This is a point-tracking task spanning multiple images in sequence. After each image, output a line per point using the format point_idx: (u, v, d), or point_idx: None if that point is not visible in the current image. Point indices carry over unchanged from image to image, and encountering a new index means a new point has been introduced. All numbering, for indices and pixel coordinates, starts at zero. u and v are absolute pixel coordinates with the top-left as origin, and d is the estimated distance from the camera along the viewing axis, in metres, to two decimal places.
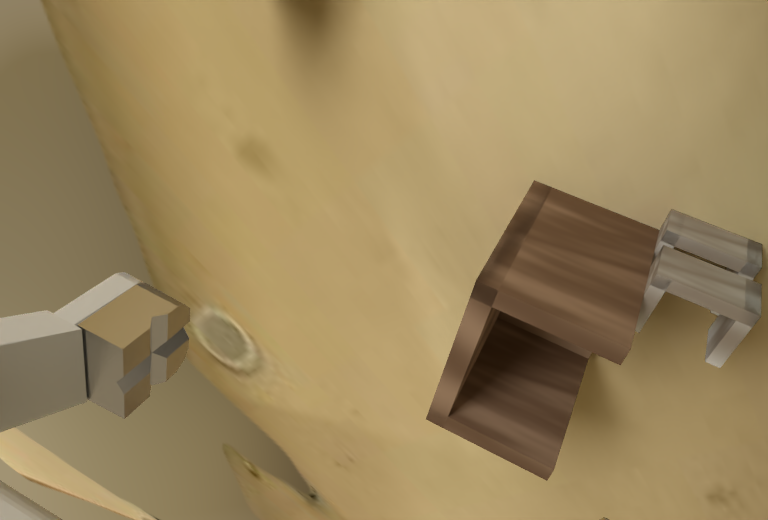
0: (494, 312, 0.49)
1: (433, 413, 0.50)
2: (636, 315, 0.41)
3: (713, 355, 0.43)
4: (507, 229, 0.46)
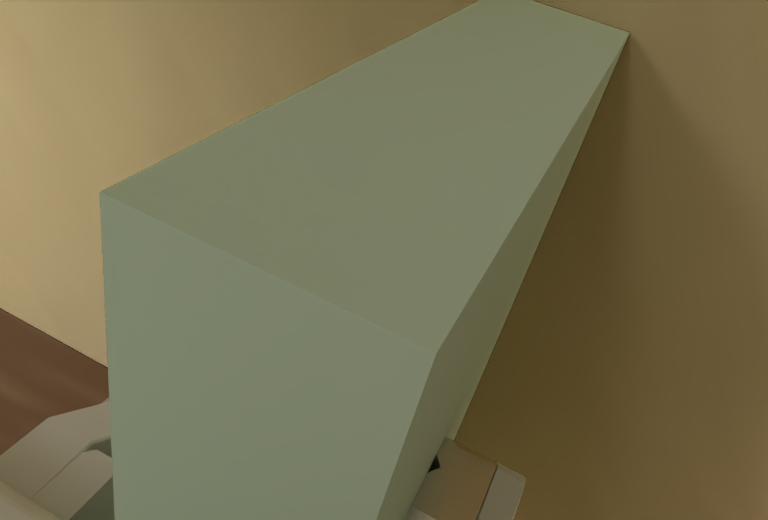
0: None
1: None
2: None
3: None
4: None
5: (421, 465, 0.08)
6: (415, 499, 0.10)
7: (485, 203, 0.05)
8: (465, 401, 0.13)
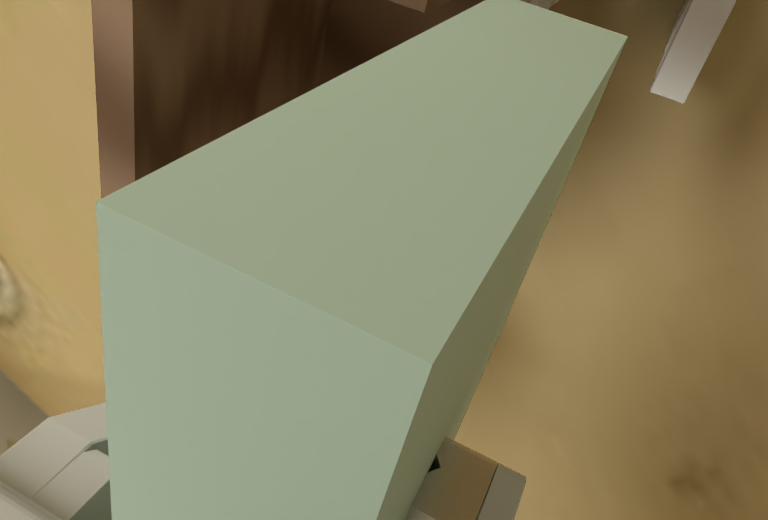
0: (232, 51, 0.24)
1: None
2: None
3: (668, 68, 0.19)
4: None
5: (419, 471, 0.08)
6: (415, 499, 0.10)
7: (481, 210, 0.05)
8: (463, 404, 0.13)
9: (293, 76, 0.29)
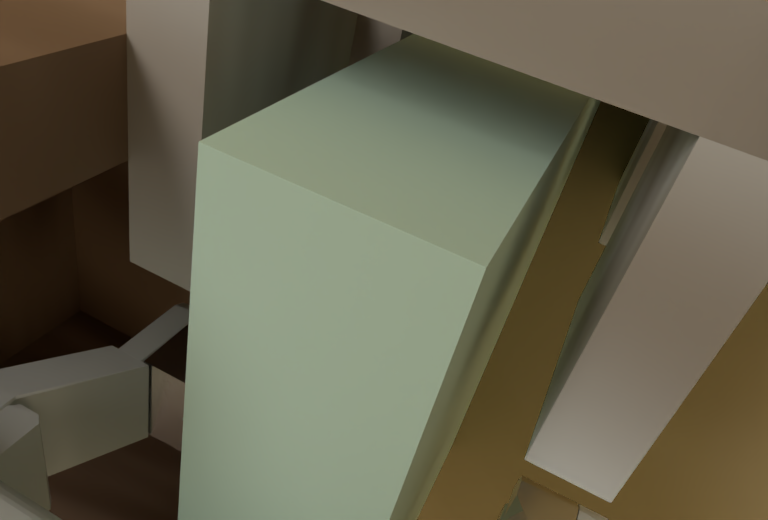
0: None
1: None
2: None
3: (567, 420, 0.07)
4: None
5: (449, 407, 0.08)
6: None
7: (515, 160, 0.06)
8: (479, 370, 0.14)
9: None
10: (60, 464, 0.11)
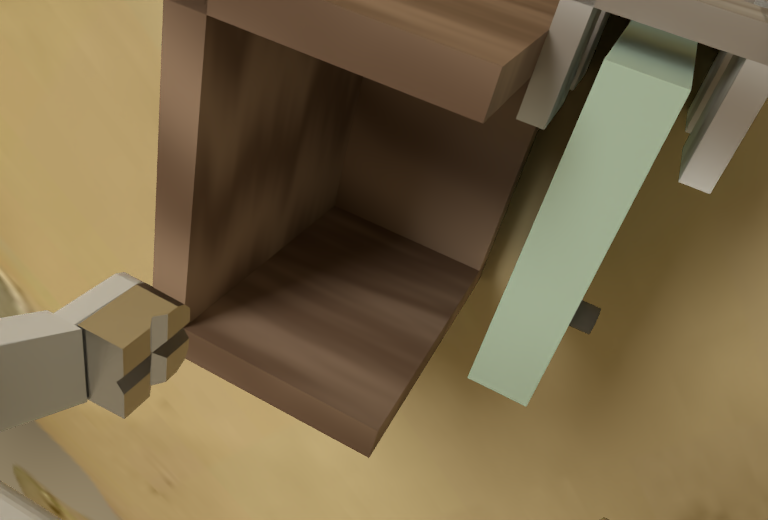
0: (278, 123, 0.25)
1: None
2: (528, 41, 0.18)
3: (696, 162, 0.20)
4: None
5: None
6: None
7: (683, 71, 0.20)
8: None
9: (328, 138, 0.30)
10: None
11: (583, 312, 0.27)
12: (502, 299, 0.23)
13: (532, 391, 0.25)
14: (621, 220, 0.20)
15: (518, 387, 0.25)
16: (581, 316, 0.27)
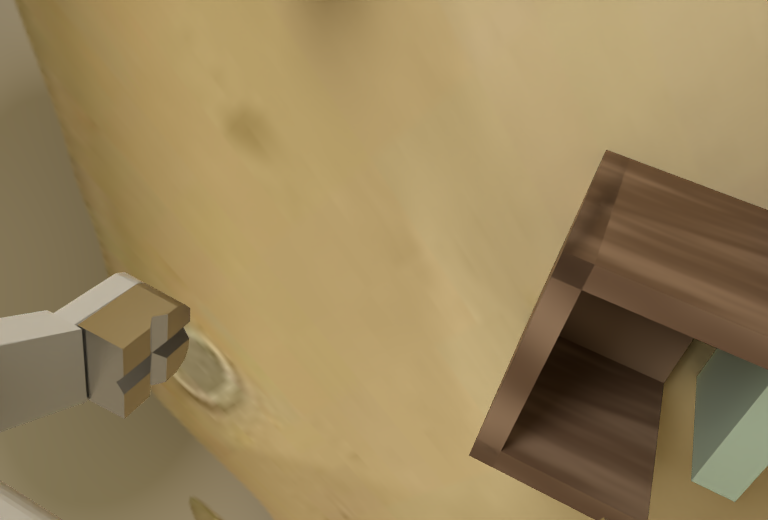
0: None
1: (480, 447, 0.38)
2: None
3: None
4: (588, 197, 0.35)
5: None
6: None
7: None
8: None
9: None
10: None
11: None
12: (728, 436, 0.35)
13: (741, 492, 0.37)
14: None
15: (730, 489, 0.37)
16: None
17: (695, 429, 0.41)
